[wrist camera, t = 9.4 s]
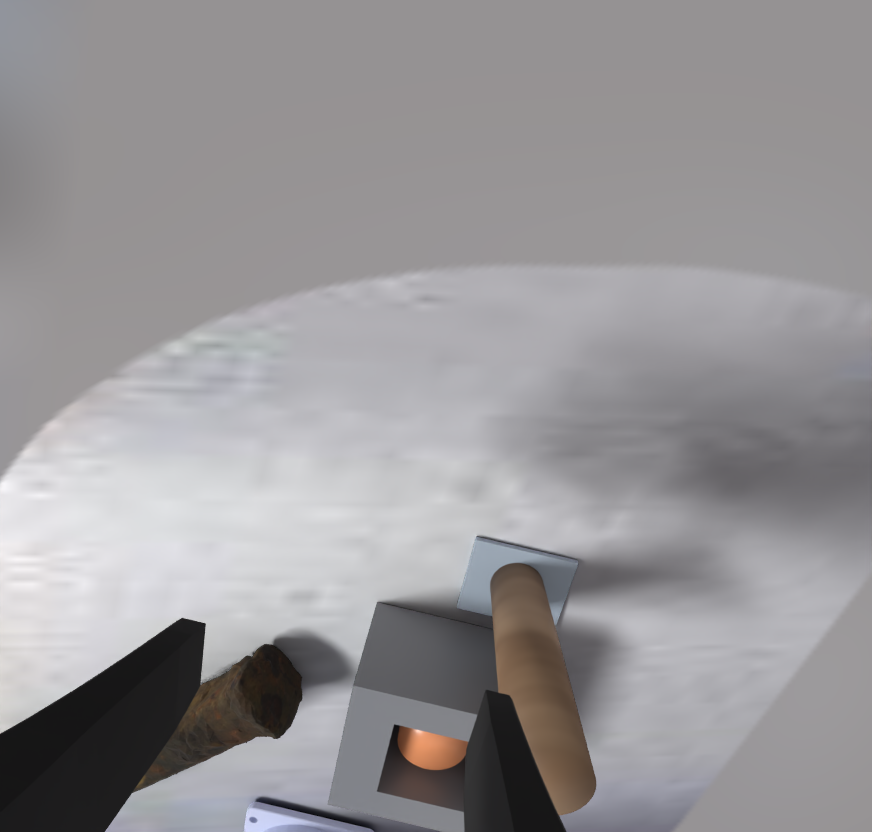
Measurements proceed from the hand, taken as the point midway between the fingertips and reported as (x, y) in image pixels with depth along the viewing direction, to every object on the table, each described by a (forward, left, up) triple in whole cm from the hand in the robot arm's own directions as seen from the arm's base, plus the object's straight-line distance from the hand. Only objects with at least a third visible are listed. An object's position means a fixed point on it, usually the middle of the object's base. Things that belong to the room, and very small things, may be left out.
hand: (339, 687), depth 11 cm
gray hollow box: (-10, -4, -10) cm, 15 cm away
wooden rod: (-3, -7, -10) cm, 12 cm away
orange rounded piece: (-9, -4, -9) cm, 14 cm away
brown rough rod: (-18, +10, -11) cm, 23 cm away
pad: (-3, -7, -10) cm, 13 cm away
